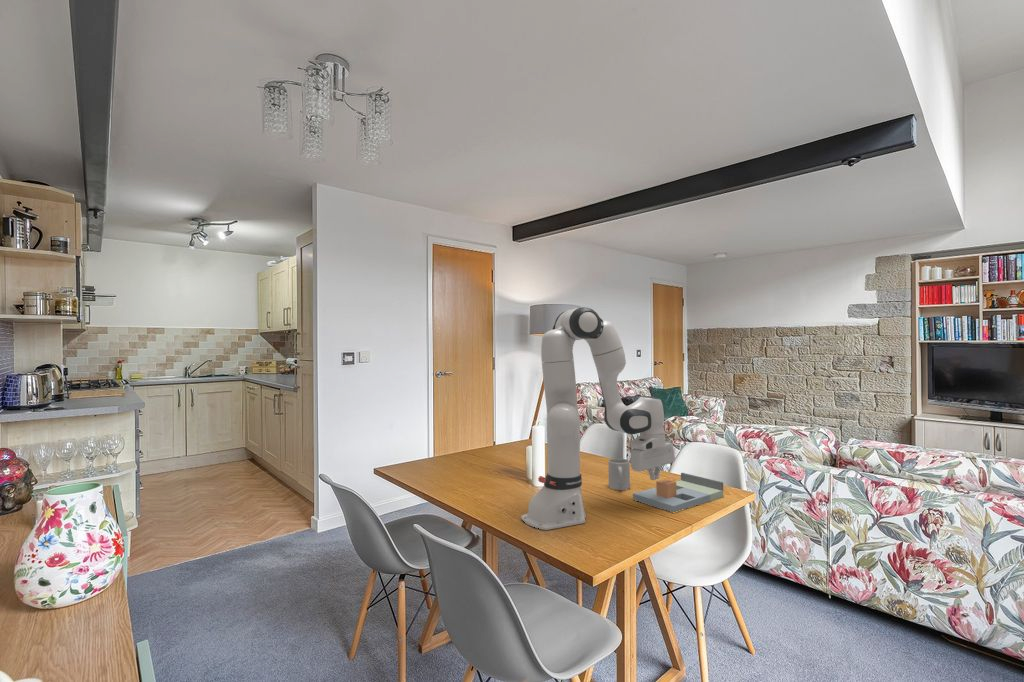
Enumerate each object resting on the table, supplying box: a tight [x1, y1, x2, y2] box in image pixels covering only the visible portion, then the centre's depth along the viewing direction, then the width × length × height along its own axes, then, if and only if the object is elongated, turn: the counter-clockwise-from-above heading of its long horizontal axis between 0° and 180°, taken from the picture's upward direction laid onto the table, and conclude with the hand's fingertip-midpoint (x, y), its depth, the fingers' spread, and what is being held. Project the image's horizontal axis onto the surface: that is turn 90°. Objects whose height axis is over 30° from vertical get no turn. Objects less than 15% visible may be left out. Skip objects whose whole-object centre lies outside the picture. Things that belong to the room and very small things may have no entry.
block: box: [655, 478, 677, 498], centre depth 176 cm, size 5×5×5 cm
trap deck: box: [632, 472, 724, 513], centre depth 180 cm, size 30×18×6 cm, turn 125°
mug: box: [607, 457, 631, 491], centre depth 194 cm, size 12×8×11 cm
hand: (654, 479), depth 172 cm, fingers closed
